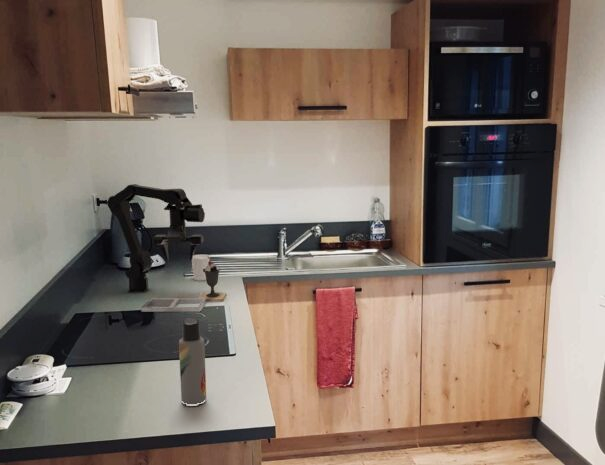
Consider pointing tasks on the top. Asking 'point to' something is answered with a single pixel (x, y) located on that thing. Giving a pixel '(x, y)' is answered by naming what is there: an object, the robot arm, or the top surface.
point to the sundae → (211, 277)
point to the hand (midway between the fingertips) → (179, 260)
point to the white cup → (199, 266)
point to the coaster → (213, 299)
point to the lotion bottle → (192, 363)
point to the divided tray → (172, 305)
